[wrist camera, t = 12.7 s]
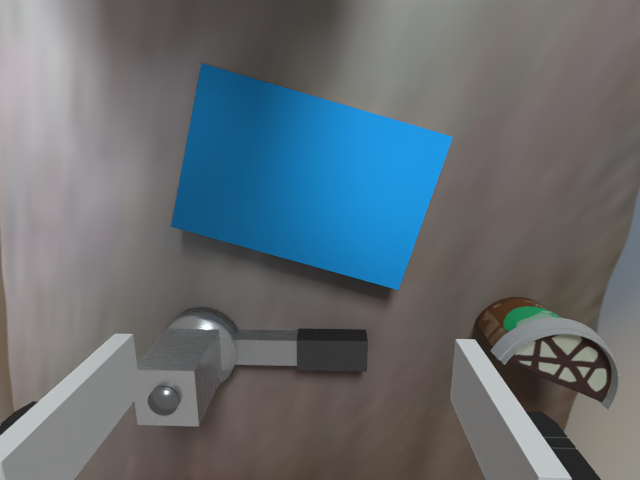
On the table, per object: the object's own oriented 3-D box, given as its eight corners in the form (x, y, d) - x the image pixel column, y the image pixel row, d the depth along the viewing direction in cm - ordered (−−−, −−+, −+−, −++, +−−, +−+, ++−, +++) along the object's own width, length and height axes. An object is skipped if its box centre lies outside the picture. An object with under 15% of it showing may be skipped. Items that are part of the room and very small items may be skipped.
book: (199, 62, 37) (455, 133, 37) (213, 70, 41) (443, 134, 42) (169, 233, 41) (399, 296, 42) (184, 225, 45) (393, 281, 46)
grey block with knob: (166, 328, 44) (126, 373, 36) (219, 329, 44) (191, 374, 36) (171, 375, 46) (134, 429, 37) (222, 376, 46) (197, 431, 37)
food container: (585, 312, 45) (653, 359, 36) (556, 355, 47) (613, 412, 37) (491, 270, 45) (534, 306, 35) (464, 315, 46) (498, 362, 36)
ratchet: (164, 306, 47) (136, 335, 40) (366, 309, 46) (371, 338, 39) (171, 373, 49) (146, 410, 43) (364, 377, 48) (369, 415, 42)
